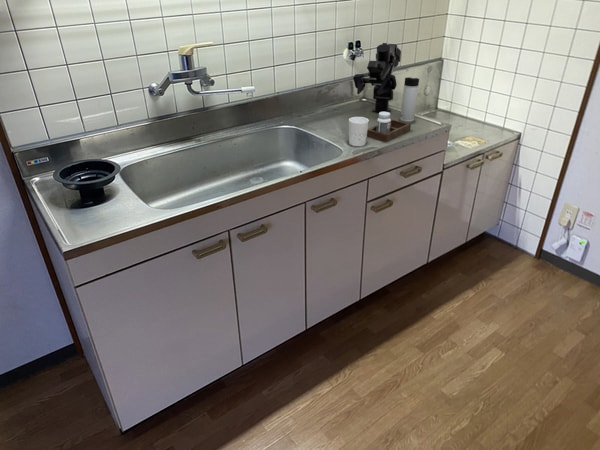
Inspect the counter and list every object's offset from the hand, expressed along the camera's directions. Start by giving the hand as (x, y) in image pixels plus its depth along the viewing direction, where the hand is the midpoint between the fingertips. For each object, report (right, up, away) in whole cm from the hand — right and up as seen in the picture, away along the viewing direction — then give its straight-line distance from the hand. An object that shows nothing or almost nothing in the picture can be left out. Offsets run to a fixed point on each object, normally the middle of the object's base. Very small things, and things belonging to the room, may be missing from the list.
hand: (367, 93), depth 197 cm
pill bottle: (+6, -18, 0) cm, 19 cm away
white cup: (-5, -23, -7) cm, 24 cm away
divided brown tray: (+9, -16, +2) cm, 19 cm away
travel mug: (+20, -9, +15) cm, 27 cm away
